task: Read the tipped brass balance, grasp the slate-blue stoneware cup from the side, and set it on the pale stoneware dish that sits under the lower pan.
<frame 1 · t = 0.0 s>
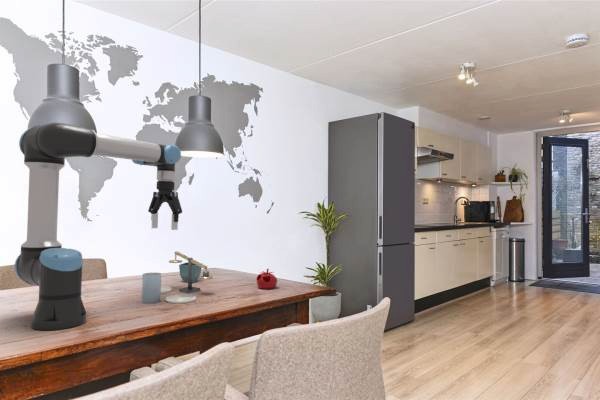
hand: (164, 229, 176), 28 cm above the table, tool pointing down, fingers open, 13 cm apart
dish low: (181, 300, 162), on the table
balance: (189, 291, 180), on the table
dish high: (157, 290, 178), on the table
pomegranate: (266, 288, 191), on the table
flower pot: (190, 281, 203), on the table
cup: (151, 301, 158), on the table
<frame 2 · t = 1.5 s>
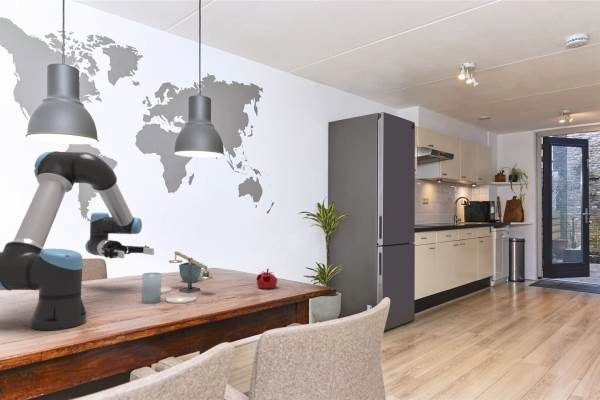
hand: (138, 253, 164), 18 cm above the table, tool horizontal, fingers open, 13 cm apart
nothing on the table moved.
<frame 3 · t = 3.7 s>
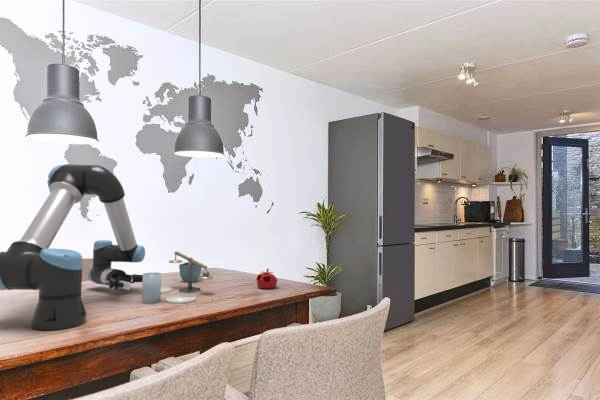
hand: (144, 283, 162), 6 cm above the table, tool horizontal, fingers open, 13 cm apart
nothing on the table moved.
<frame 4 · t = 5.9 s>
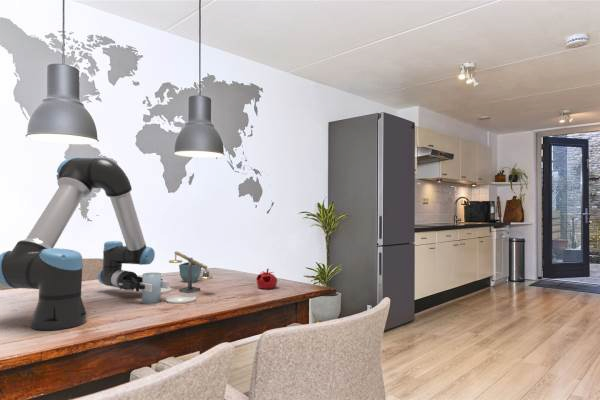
hand: (159, 286, 156), 7 cm above the table, tool horizontal, fingers closed on cup, 7 cm apart
cup: (151, 301, 158), on the table, touching gripper
everything else where it was.
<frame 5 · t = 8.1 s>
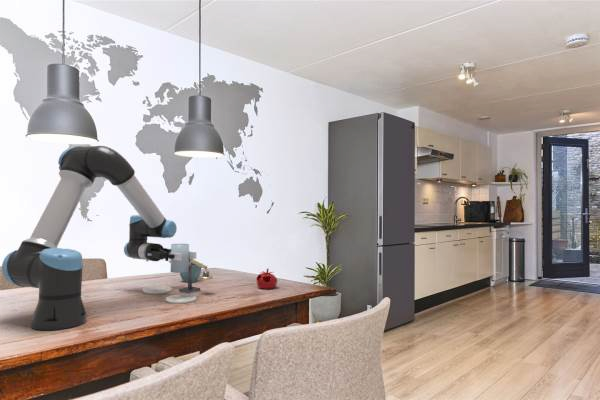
hand: (188, 256, 160), 18 cm above the table, tool horizontal, fingers closed on cup, 7 cm apart
cup: (179, 271, 163), point 12 cm above the table, touching gripper
everything else where it was.
when the fingers open (8 cm above the table, at t = 10.4 s): cup stays where it is, resting on dish low.
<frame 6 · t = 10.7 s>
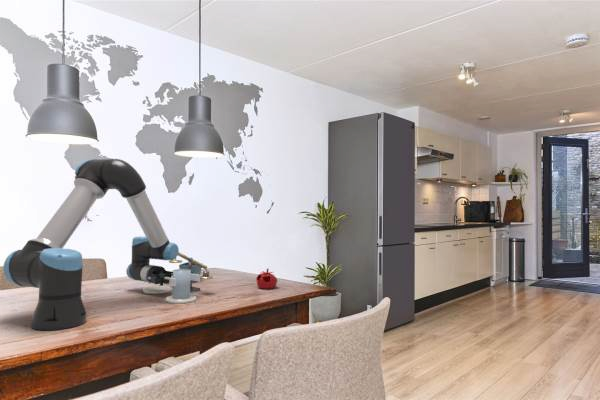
hand: (187, 280, 160), 8 cm above the table, tool horizontal, fingers open, 11 cm apart
cup: (180, 297, 162), point 1 cm above the table, touching dish low
everything else where it was.
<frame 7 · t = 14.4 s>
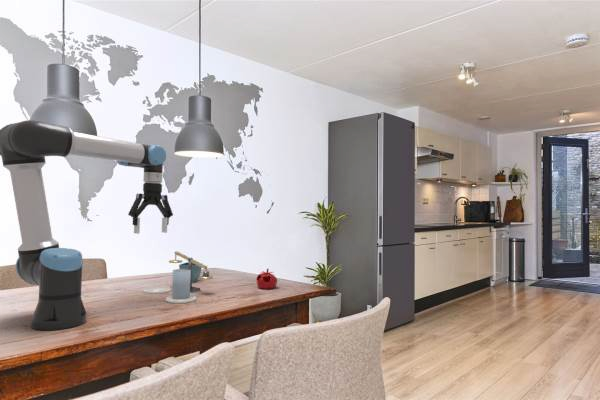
hand: (150, 233, 169), 27 cm above the table, tool pointing down, fingers open, 13 cm apart
nothing on the table moved.
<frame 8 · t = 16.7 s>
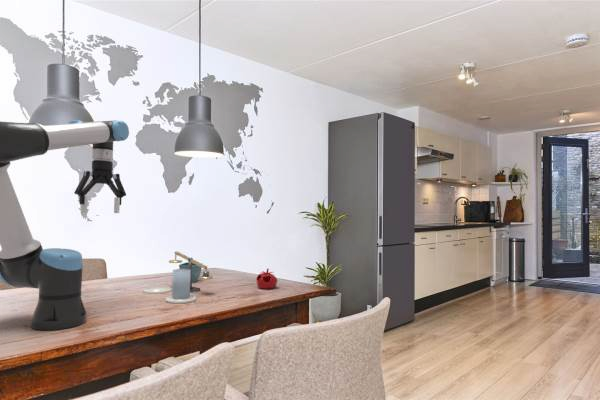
hand: (100, 213, 161), 35 cm above the table, tool pointing down, fingers open, 13 cm apart
nothing on the table moved.
at the end: cup 0.1 cm from the dish low (horizontally); cup tilted 1°; the gripper is holding nothing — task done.
